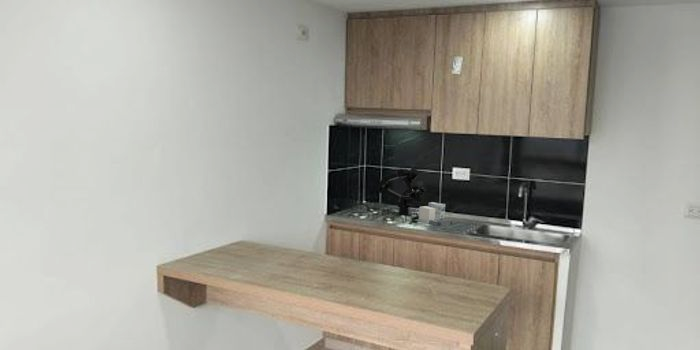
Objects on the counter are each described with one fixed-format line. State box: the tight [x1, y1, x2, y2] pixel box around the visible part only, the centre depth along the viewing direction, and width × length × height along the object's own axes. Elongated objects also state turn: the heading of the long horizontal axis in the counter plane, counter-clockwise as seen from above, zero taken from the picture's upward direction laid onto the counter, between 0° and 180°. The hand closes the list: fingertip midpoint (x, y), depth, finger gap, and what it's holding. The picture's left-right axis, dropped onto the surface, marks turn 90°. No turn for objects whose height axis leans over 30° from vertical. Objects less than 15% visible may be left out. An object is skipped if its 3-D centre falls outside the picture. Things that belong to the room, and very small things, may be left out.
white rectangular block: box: [418, 205, 436, 222], centre depth 372 cm, size 9×6×9 cm, turn 40°
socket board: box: [415, 218, 453, 227], centre depth 367 cm, size 22×14×4 cm, turn 40°
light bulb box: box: [427, 201, 446, 220], centre depth 387 cm, size 11×7×11 cm, turn 56°
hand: (419, 201), depth 376 cm, fingers closed
